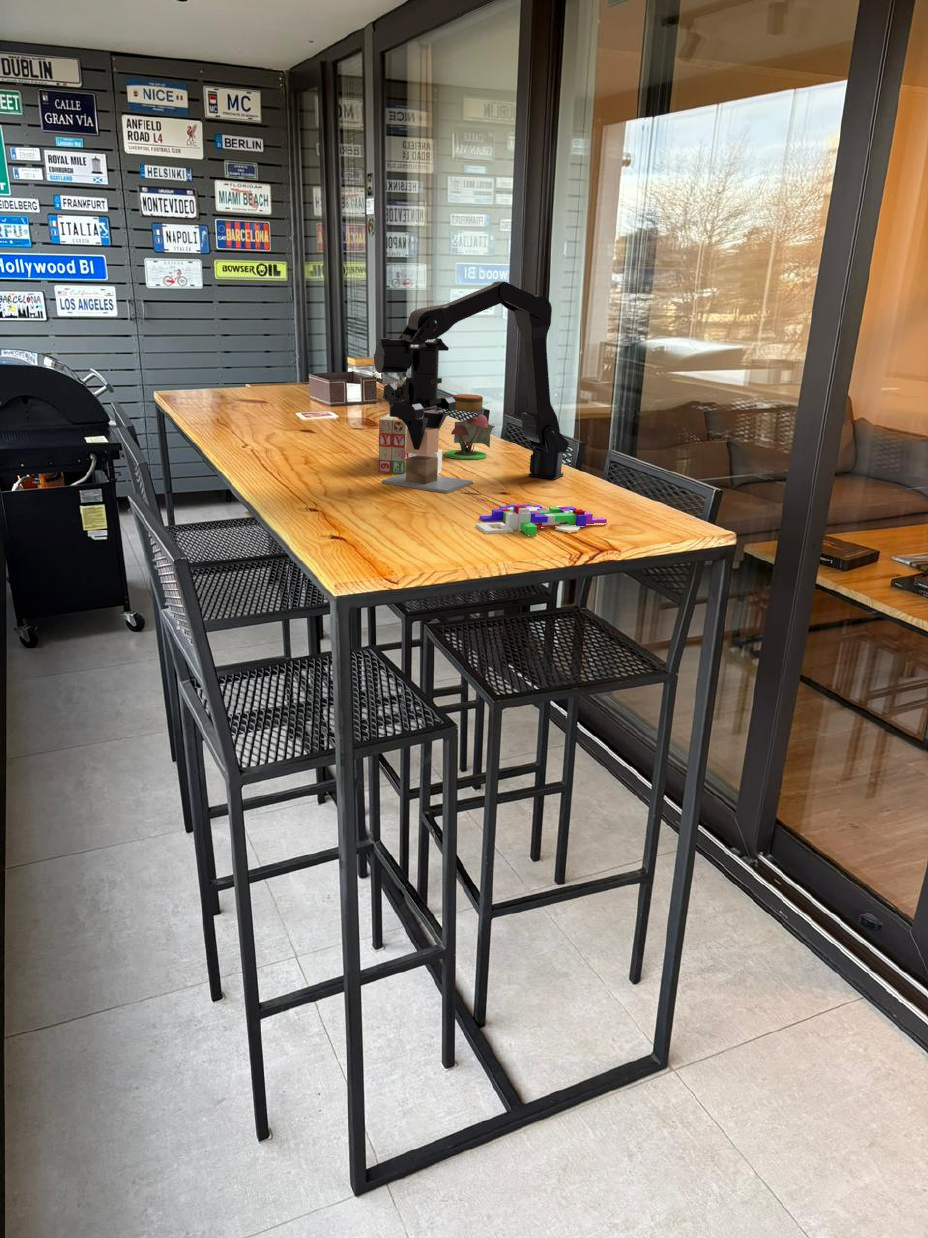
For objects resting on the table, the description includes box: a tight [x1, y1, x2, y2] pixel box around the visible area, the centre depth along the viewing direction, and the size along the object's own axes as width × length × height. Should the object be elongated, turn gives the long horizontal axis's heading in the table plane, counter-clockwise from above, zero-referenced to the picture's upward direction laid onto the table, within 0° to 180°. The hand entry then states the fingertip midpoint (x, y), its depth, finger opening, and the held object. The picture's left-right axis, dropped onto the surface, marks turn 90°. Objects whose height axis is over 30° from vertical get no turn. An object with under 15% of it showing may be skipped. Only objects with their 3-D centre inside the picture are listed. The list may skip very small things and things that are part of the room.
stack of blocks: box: [378, 413, 416, 475], centre depth 213 cm, size 21×6×12 cm, turn 170°
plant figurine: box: [444, 393, 495, 460], centre depth 227 cm, size 12×13×15 cm
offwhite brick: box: [416, 449, 443, 475], centre depth 208 cm, size 5×5×5 cm
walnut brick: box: [406, 455, 438, 484], centre depth 195 cm, size 5×5×5 cm
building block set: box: [475, 503, 608, 536], centre depth 170 cm, size 25×20×4 cm
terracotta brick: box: [406, 427, 440, 455], centre depth 193 cm, size 5×5×5 cm
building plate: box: [381, 473, 474, 494], centre depth 197 cm, size 16×12×1 cm
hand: (422, 447), depth 194 cm, fingers closed on terracotta brick, 5 cm apart
